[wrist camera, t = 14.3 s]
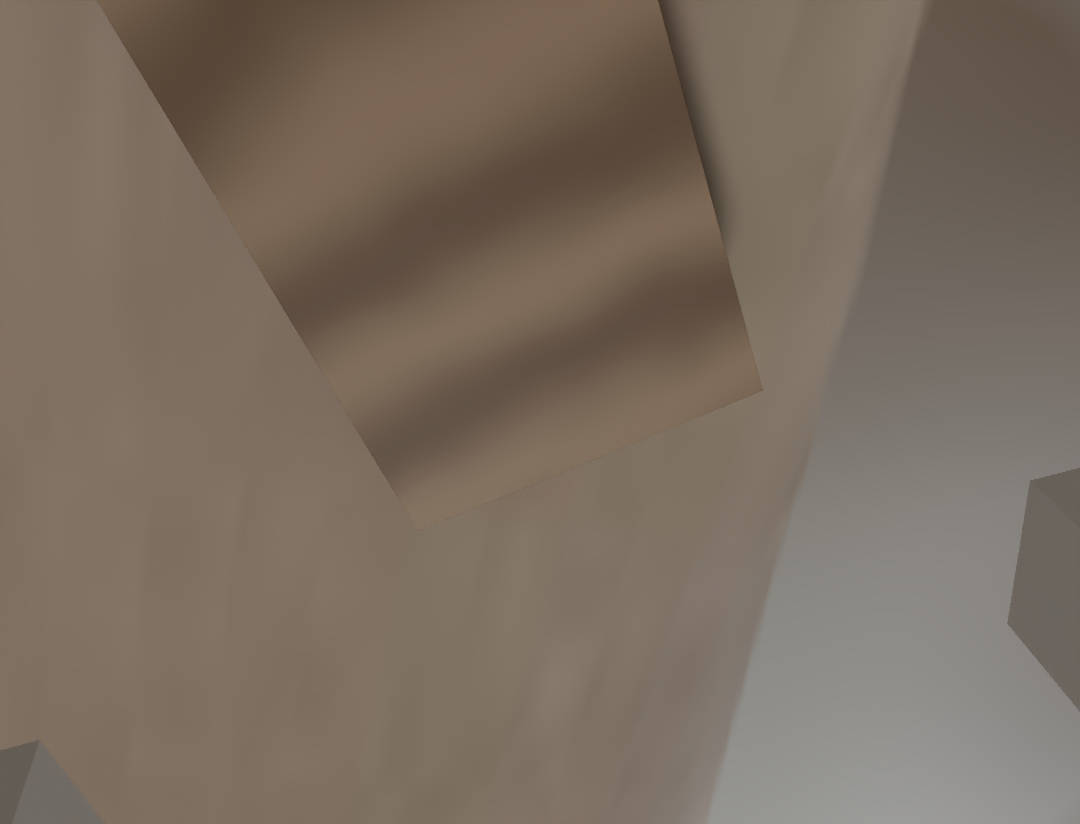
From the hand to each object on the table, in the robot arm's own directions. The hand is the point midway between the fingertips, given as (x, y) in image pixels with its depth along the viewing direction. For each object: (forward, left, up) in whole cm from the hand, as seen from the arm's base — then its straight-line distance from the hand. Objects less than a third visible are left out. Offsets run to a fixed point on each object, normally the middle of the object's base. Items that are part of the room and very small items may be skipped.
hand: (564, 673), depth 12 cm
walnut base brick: (0, +1, -25) cm, 25 cm away
